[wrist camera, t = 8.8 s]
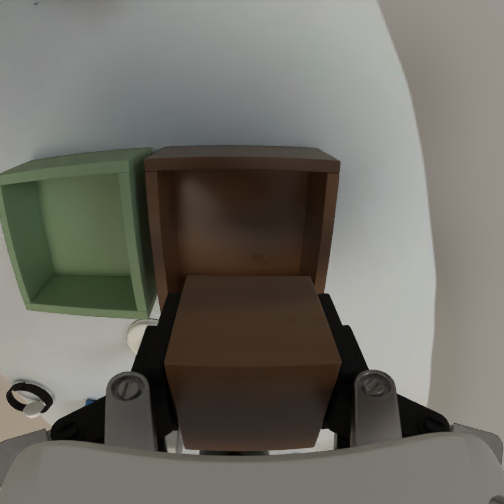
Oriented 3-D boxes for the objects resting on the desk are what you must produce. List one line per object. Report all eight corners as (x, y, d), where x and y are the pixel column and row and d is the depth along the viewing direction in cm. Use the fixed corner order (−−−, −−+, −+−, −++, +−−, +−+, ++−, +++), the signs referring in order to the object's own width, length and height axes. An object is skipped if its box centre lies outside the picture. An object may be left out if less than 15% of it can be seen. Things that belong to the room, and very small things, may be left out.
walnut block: (186, 274, 11) (162, 363, 7) (310, 274, 12) (343, 361, 8) (195, 363, 13) (184, 449, 9) (298, 362, 14) (314, 448, 9)
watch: (50, 420, 29) (62, 409, 32) (37, 386, 29) (51, 377, 32) (10, 416, 28) (23, 407, 32) (-2, 384, 29) (13, 377, 32)
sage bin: (31, 160, 20) (-8, 176, 15) (151, 147, 20) (128, 159, 16) (53, 277, 24) (26, 310, 20) (162, 280, 25) (148, 320, 20)
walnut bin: (164, 146, 20) (143, 158, 16) (318, 148, 21) (340, 161, 16) (173, 281, 25) (161, 320, 20) (305, 281, 25) (319, 320, 21)
